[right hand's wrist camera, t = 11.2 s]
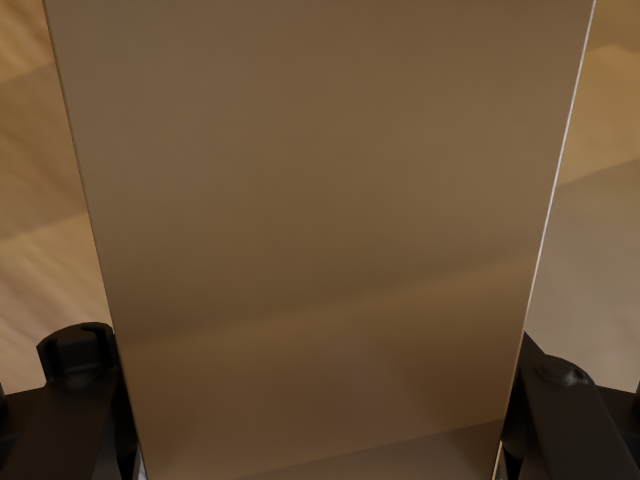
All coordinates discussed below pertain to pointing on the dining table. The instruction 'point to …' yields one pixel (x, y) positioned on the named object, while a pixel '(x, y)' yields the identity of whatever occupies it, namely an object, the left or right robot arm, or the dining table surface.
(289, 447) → the box
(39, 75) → the dining table surface
